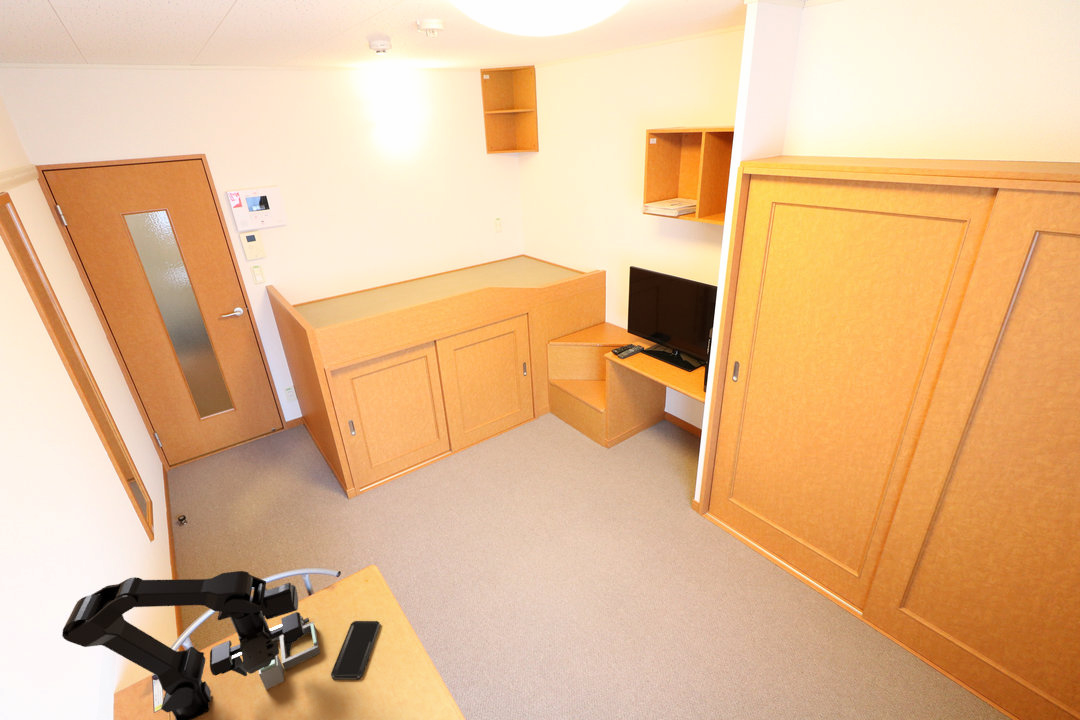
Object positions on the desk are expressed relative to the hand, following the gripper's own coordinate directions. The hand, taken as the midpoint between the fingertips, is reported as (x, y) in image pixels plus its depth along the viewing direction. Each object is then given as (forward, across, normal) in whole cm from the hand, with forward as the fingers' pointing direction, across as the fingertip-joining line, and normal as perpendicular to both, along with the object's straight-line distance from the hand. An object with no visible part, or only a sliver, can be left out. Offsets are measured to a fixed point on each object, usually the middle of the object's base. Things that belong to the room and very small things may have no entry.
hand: (267, 664), depth 119 cm
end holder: (+5, +7, +5) cm, 10 cm away
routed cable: (+5, +4, +11) cm, 13 cm away
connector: (+5, 0, 0) cm, 5 cm away
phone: (+6, +19, -3) cm, 20 cm away
